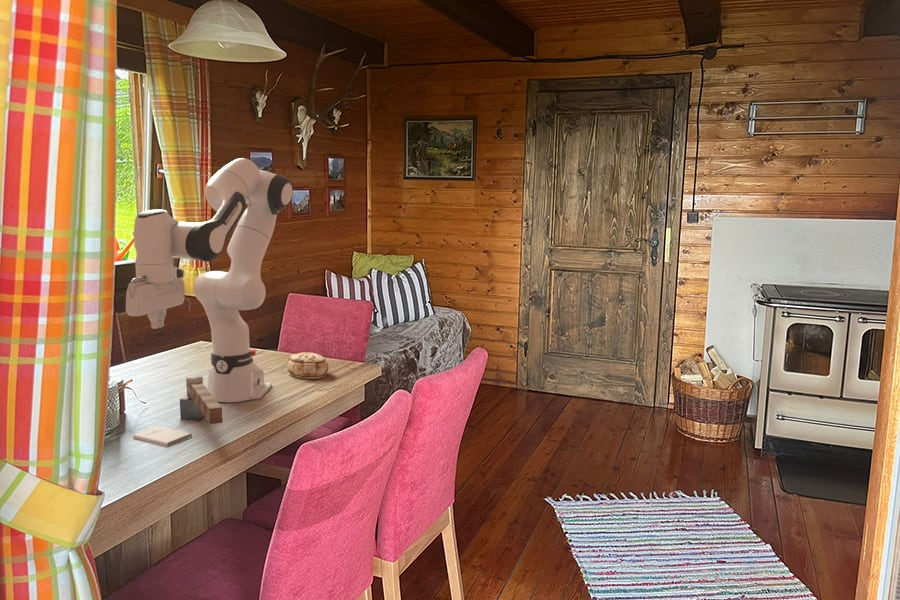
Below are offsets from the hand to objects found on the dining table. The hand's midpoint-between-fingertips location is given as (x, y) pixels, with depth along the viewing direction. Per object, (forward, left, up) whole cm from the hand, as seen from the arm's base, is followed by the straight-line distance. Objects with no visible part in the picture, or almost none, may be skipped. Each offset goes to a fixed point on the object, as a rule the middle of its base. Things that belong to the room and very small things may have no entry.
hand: (157, 327), depth 185 cm
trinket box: (-67, +12, -30) cm, 74 cm away
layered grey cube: (-16, 0, -29) cm, 33 cm away
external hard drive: (+1, 0, -30) cm, 30 cm away
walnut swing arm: (-7, +8, -23) cm, 25 cm away
